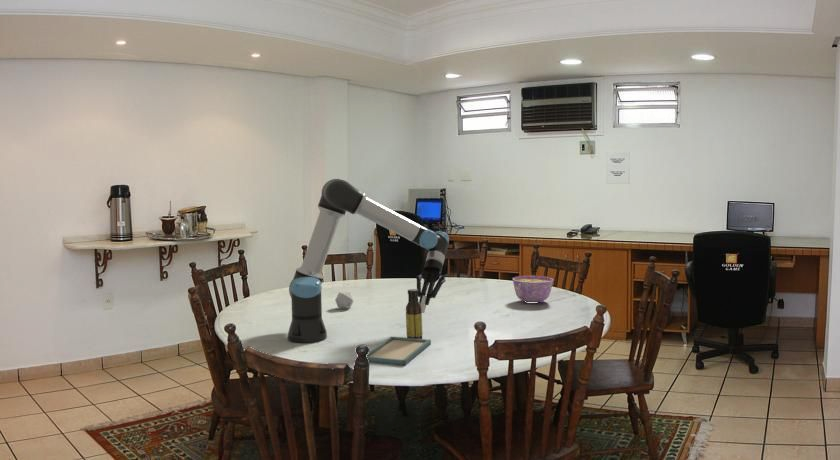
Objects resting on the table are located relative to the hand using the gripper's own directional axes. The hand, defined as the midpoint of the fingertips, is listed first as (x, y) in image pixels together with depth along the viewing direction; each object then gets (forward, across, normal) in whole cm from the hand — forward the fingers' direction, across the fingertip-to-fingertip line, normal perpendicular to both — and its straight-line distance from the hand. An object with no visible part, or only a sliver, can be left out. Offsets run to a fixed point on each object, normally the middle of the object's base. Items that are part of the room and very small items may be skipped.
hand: (421, 310), depth 259 cm
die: (-17, +51, -31) cm, 62 cm away
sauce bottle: (+13, 0, 0) cm, 13 cm away
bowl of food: (-46, -32, -60) cm, 83 cm away
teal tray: (+26, 0, +12) cm, 29 cm away
